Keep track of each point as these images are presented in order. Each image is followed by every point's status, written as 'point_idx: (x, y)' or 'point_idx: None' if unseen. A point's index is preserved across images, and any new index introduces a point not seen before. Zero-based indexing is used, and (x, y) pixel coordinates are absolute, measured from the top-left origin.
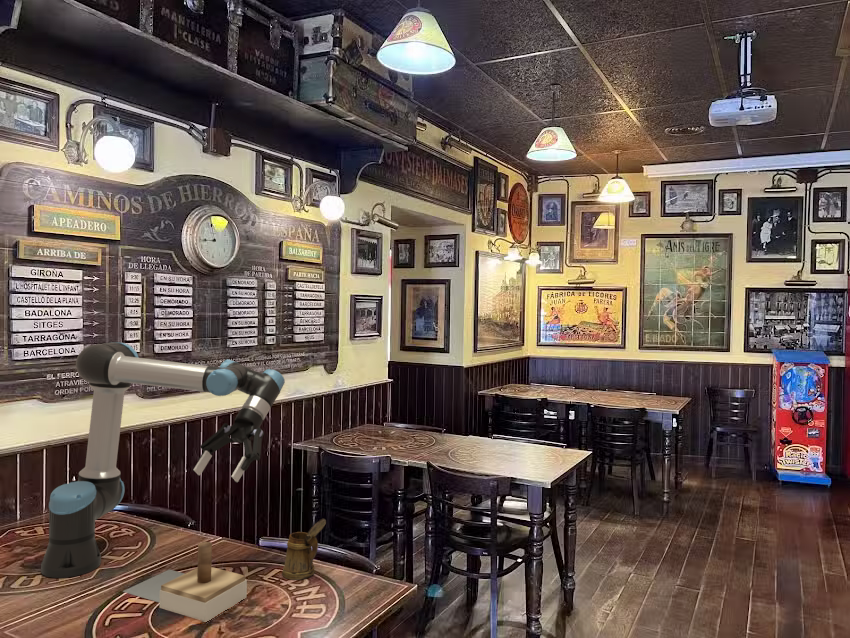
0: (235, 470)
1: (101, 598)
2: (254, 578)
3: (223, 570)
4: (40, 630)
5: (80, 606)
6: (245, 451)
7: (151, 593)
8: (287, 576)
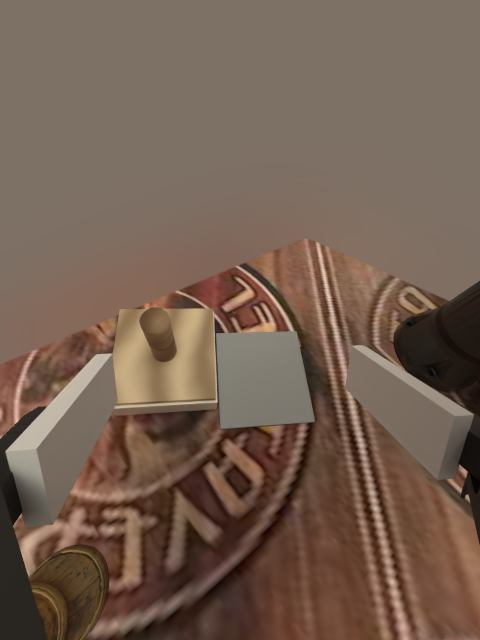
0: (90, 370)
1: (303, 313)
2: (153, 497)
3: (161, 399)
4: (281, 247)
5: (302, 290)
6: (2, 512)
7: (258, 346)
8: (78, 546)
